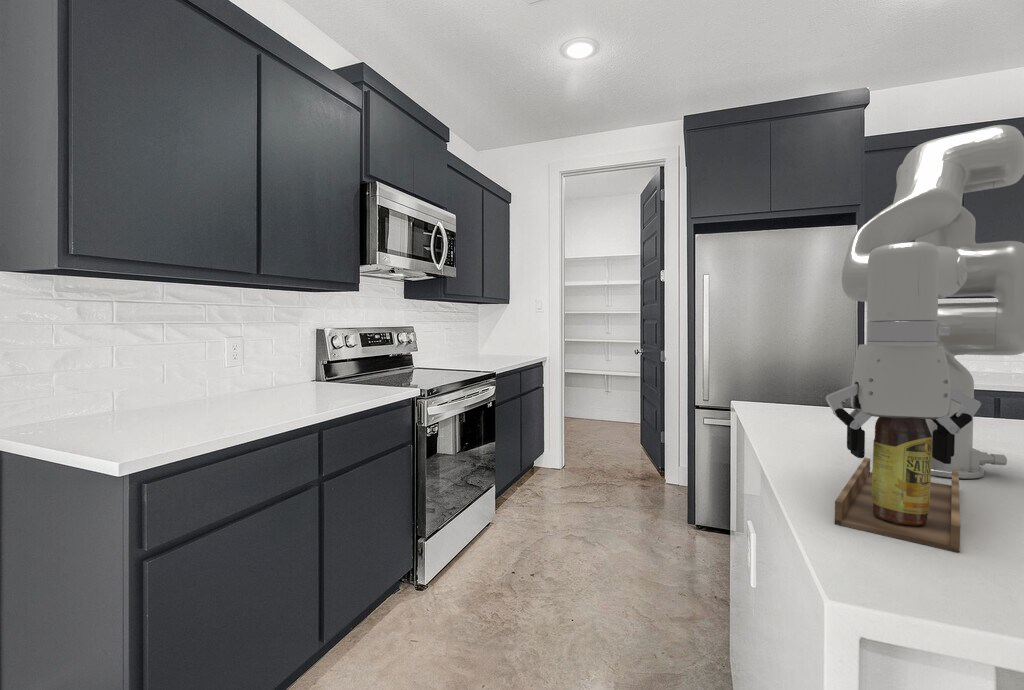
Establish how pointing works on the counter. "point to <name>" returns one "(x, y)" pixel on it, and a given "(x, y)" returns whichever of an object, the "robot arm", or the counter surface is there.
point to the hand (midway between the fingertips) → (898, 458)
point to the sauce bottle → (901, 470)
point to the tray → (936, 532)
